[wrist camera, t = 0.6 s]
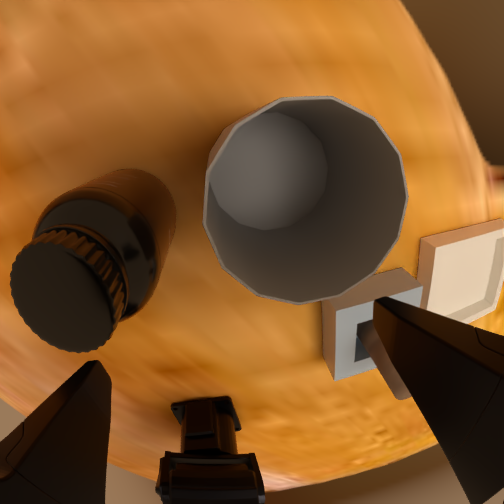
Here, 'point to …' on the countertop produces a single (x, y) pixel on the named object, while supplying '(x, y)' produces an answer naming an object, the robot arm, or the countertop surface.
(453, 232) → the tray
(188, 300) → the countertop surface
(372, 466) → the countertop surface
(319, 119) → the cup
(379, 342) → the dowel
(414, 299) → the grey square peg base
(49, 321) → the supplement bottle
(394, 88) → the countertop surface
